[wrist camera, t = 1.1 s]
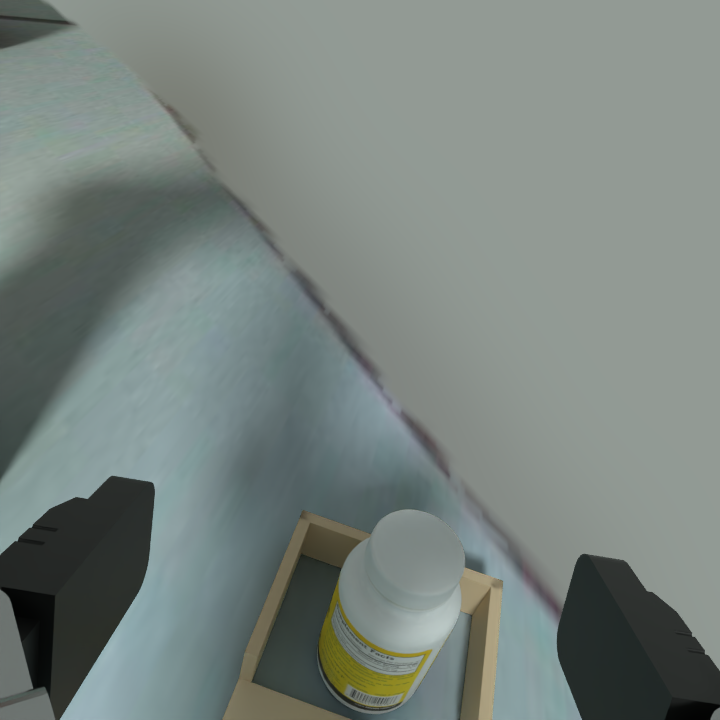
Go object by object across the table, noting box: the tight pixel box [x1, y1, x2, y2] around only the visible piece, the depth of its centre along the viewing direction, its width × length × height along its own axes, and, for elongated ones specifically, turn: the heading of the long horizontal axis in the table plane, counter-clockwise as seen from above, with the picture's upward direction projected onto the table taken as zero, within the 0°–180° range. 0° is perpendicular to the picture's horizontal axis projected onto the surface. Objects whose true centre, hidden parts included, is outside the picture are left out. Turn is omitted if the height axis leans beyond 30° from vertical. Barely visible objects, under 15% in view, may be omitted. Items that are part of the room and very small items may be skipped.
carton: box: [222, 510, 503, 720], centre depth 28 cm, size 17×11×3 cm
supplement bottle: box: [317, 509, 465, 714], centre depth 29 cm, size 5×5×10 cm
